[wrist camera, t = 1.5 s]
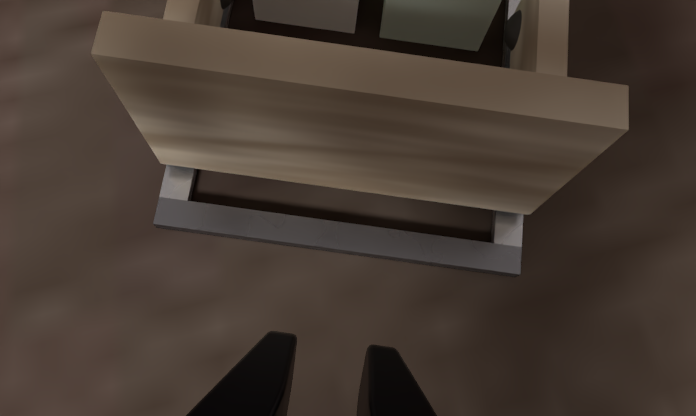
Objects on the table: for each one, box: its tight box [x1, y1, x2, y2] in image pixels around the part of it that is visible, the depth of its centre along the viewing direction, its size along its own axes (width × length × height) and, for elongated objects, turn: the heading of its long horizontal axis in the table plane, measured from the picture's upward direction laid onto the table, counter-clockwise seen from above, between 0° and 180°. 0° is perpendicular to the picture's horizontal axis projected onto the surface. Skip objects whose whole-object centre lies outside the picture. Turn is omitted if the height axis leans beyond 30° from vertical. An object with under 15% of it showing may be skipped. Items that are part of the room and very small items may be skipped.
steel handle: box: [153, 0, 523, 277], centre depth 25 cm, size 16×13×1 cm
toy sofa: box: [91, 0, 629, 215], centre depth 20 cm, size 8×14×8 cm, turn 83°
